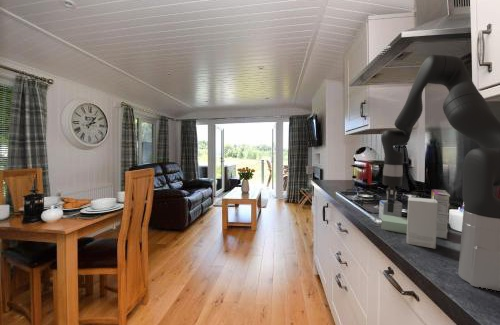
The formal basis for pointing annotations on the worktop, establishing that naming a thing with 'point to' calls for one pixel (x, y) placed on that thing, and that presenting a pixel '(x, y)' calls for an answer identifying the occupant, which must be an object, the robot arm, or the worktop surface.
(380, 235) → the worktop surface
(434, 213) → the skincare box
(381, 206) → the medicine box
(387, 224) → the sage block
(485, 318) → the worktop surface
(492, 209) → the robot arm
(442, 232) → the candy bar box
